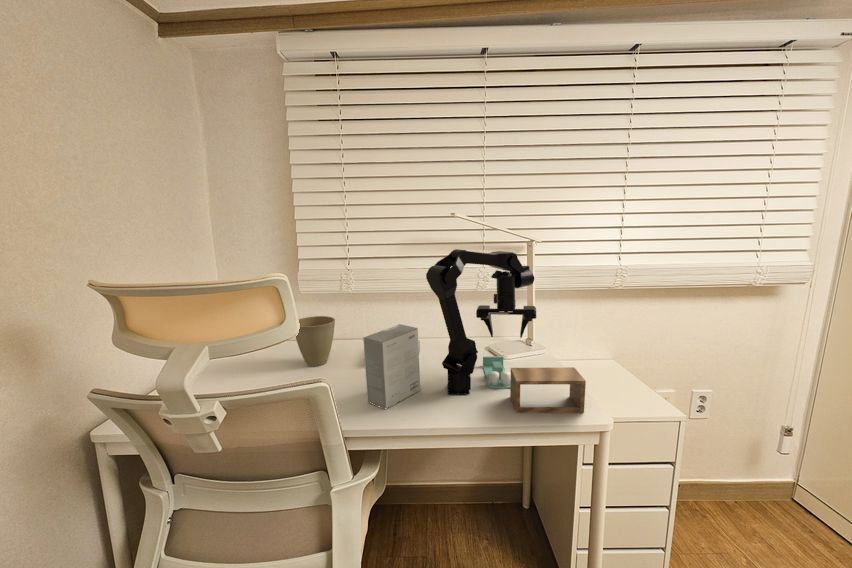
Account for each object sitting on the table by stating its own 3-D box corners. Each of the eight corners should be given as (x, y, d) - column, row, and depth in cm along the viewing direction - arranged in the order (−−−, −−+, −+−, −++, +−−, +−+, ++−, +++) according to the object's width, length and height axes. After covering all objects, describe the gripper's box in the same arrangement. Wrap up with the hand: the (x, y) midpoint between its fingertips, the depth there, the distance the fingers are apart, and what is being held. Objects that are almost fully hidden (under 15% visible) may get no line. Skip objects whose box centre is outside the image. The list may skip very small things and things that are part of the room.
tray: (482, 367, 137) (482, 353, 136) (502, 367, 137) (503, 353, 136) (489, 390, 119) (489, 374, 118) (512, 389, 119) (512, 374, 118)
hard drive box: (402, 384, 124) (400, 323, 120) (421, 390, 119) (419, 327, 116) (366, 402, 112) (362, 336, 109) (384, 410, 107) (381, 341, 104)
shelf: (515, 412, 105) (516, 381, 103) (510, 396, 114) (510, 367, 112) (584, 412, 104) (585, 380, 102) (572, 396, 113) (574, 367, 111)
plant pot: (341, 365, 140) (339, 322, 137) (298, 373, 134) (295, 329, 131) (332, 353, 153) (330, 313, 150) (293, 359, 147) (289, 318, 144)
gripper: (535, 285, 130) (535, 330, 133) (479, 285, 134) (480, 328, 137) (536, 292, 119) (536, 341, 122) (475, 292, 124) (476, 339, 127)
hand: (506, 337), depth 127 cm, fingers open, 9 cm apart
